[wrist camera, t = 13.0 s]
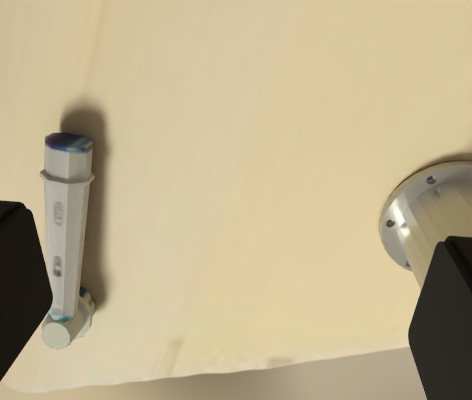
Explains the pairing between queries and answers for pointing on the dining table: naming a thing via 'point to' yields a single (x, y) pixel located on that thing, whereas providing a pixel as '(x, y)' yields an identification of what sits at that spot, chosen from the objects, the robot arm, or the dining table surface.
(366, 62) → the dining table surface
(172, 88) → the dining table surface
